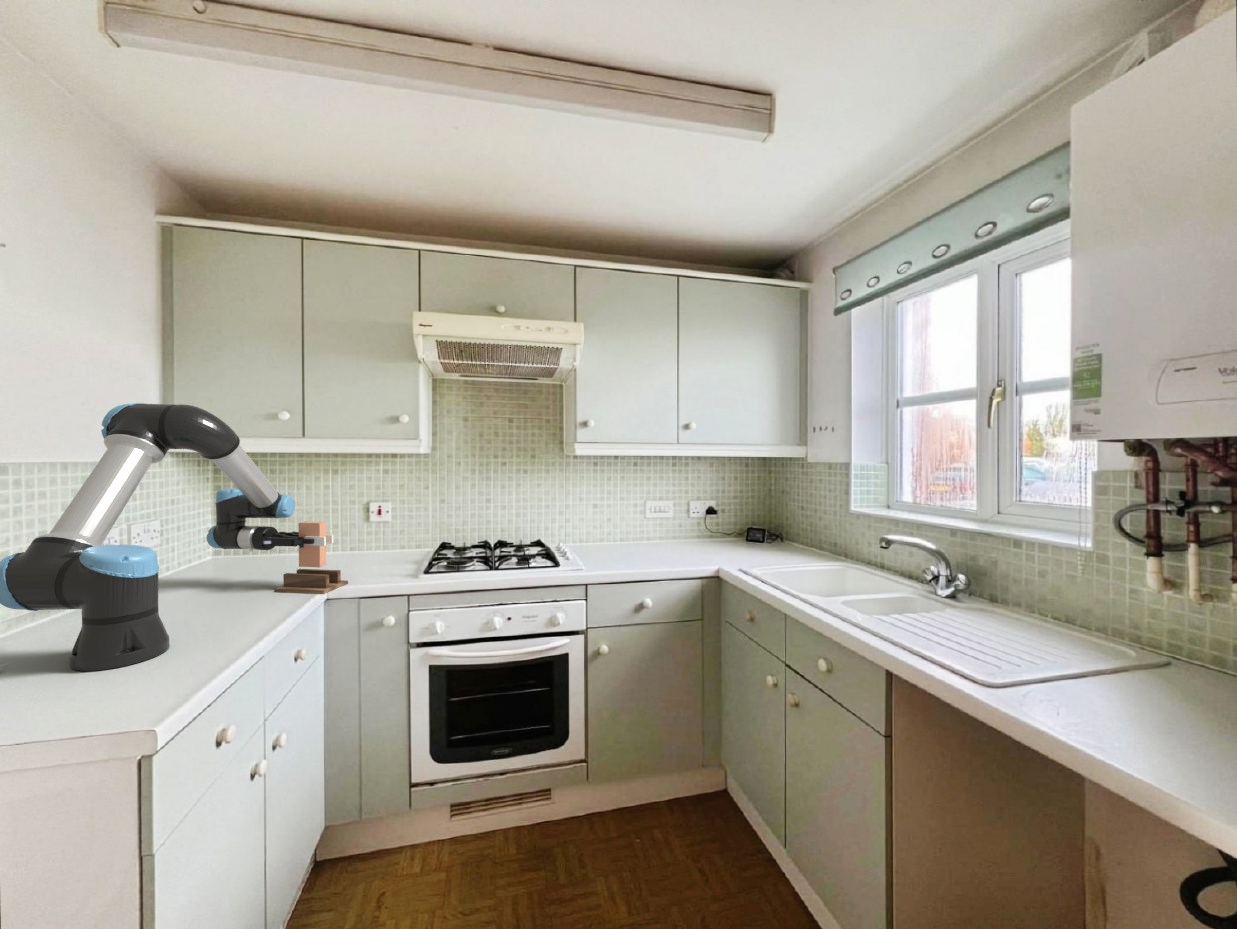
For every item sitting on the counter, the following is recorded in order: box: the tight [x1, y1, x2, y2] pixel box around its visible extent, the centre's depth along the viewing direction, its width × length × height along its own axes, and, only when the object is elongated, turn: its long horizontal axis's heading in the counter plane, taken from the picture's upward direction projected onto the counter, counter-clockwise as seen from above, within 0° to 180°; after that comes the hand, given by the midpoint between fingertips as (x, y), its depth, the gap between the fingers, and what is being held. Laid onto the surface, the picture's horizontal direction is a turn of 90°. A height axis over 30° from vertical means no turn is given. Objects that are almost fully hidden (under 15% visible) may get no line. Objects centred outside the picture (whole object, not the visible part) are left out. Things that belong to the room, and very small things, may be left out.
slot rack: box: [274, 568, 349, 595], centre depth 160 cm, size 12×16×5 cm
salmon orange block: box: [298, 520, 327, 568], centre depth 160 cm, size 3×7×14 cm, turn 86°
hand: (328, 540), depth 159 cm, fingers closed on salmon orange block, 3 cm apart
